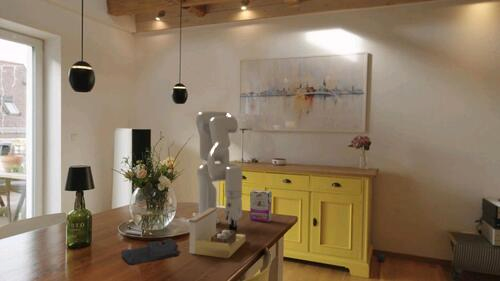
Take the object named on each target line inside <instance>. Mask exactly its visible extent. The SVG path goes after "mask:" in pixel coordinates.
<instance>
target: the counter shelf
mask: <svg viewBox="0 0 500 281" xmlns="http://www.w3.org/2000/svg"><path fill="white" fill-rule="evenodd" d="M217 210H218V208H217V207H216V208H209V209H207V210H206V211H204V212H202V213H200V214H198V213H197V214H198V215H196V216H195V217H191V218H189V219H188V223H189V250H188V252H189V254H192V255H199V256H207V257H208V256H209V257H214V258H215V257H216V258H223V259H229V258H230V257H231V256H232V255H233V254H234V253H235V252H236V251H237V250H238V249H239V248H240V247H241V246H242V245H243V244H244V243H245V242H246V234H241V233H237V234H236V241H235V242H234V243H232V244H231V245H230V246H229V244H227V243H219V242H211V237H212V236H214V235H215V234H216V233H218V232H219V231H217V224H216V218H217Z"/></svg>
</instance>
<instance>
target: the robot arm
mask: <svg viewBox="0 0 500 281" xmlns="http://www.w3.org/2000/svg"><path fill="white" fill-rule="evenodd" d="M195 123H196V127H197V128H196V129H197V130H198V135H199V156H200V157H199V159H200V160H201V161H203V162H206V163H205V164H201V165H200V166H198V167H197V170H196V172H197V173H196V175H197V179H198V180H197V181H198V213H195V212H194V213H193V212H192V217H191V218H193V217H195V216H196V215H198V214H200V213H202V212H204V211H206V210H207V209H209V208H217V201H218V200H217V195H218V193H217V188H216V186H215V185H214V184H213V182H224V183H225V184H224V197H225V210H224V218H225V220H226V221H227V225H228V230H234V231H236V234H238V220H239V219H240V218H242V216H243V201H242V198H243V169H242V167H241V166H238V165H237V164H235V163H230V149H229V147H231V139H230V134H236V133H237V132H238V129H239V124H238V120H237V119H236V117H235V116H234V115H232V114H231V113H230V112H227V111H213V110H211V111H210V110H209V111H208V110H206V111H200V112H198V113H197V114H196V120H195ZM215 162H219V163H215ZM219 223H220V219H218V218H217V217H216V225H218V224H219Z"/></svg>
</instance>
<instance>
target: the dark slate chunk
mask: <svg viewBox="0 0 500 281" xmlns="http://www.w3.org/2000/svg"><path fill="white" fill-rule="evenodd" d="M161 241H162V242H161ZM161 241H158V240H154V241H148V242H147V243H146V246H140V247H135V248H129V249H122V250H121V252H120V253H121V256H122V258H123V259H124V261H125V262H126V263H127V264H128V265H131V266H137V265H140V264H145V263H150V262H155V261H159V260H165V259H169V258H174V257H178V256H179V255H181V253H179V252H178V251H177V250H178V248H179V245H178V244H177V243H176V242H175V241H174V240H173V237H172V238H171V237H170V238H167V239H162V240H161Z"/></svg>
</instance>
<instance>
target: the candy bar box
mask: <svg viewBox="0 0 500 281" xmlns="http://www.w3.org/2000/svg"><path fill="white" fill-rule="evenodd" d="M249 194H250V195H249V196H250V198H249V199H250V202H249V203H250V205H249V207H250V211H249V213H250V215H249V217H250V218H249V220H250V221H254V222H263V223H270V222H271V221H272V200H273V199H272V197H273V196H272V191H271V190H269V191H268V190H259V189H258V190H257V189H253V190H251V191H250V193H249Z"/></svg>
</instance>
